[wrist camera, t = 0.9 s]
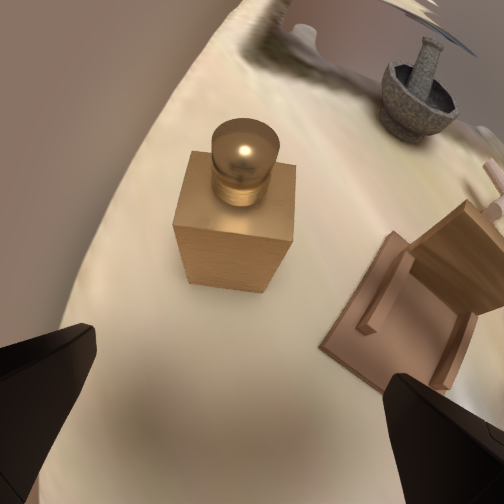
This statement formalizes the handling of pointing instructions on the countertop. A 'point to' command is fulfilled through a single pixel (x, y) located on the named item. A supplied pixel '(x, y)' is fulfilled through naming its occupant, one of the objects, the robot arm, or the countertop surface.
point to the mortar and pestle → (417, 96)
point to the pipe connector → (500, 180)
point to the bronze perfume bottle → (236, 209)
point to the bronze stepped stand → (421, 303)
